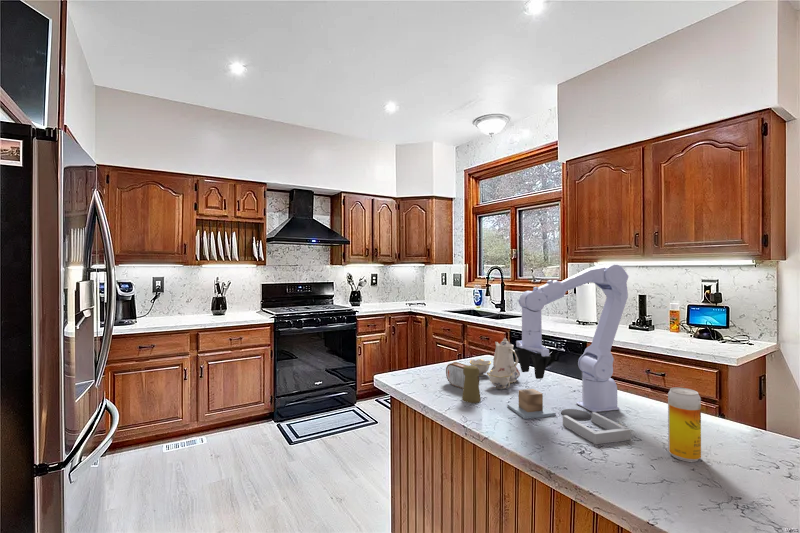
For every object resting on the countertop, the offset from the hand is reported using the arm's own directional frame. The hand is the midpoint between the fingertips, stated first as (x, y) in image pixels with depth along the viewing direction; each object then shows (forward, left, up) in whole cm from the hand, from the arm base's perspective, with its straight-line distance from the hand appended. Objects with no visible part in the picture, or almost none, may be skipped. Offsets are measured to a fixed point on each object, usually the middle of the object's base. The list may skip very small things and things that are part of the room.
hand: (532, 375), depth 121 cm
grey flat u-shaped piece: (-6, +19, -10) cm, 22 cm away
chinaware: (-4, -30, -11) cm, 33 cm away
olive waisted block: (+15, -12, -11) cm, 22 cm away
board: (+2, +2, -10) cm, 11 cm away
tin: (+13, -25, -11) cm, 30 cm away
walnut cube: (+2, +2, -10) cm, 10 cm away
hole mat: (-9, +8, -10) cm, 16 cm away
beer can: (-16, +36, -11) cm, 41 cm away
